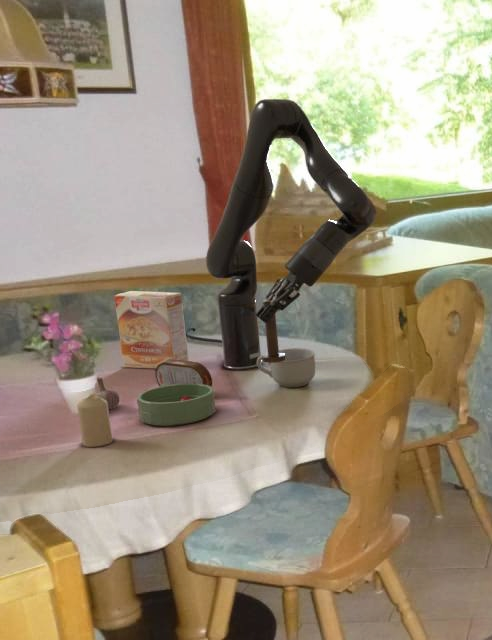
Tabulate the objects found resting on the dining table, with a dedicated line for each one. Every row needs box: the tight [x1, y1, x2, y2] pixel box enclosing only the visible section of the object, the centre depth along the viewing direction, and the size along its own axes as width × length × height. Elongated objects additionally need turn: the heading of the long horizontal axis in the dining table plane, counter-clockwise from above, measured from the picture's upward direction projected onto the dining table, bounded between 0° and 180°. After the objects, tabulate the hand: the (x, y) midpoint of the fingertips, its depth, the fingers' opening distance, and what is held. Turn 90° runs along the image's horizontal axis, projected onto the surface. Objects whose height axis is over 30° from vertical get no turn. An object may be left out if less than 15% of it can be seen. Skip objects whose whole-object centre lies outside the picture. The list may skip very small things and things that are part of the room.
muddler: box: [261, 299, 285, 364], centre depth 233 cm, size 5×5×14 cm
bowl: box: [136, 383, 217, 427], centre depth 228 cm, size 16×16×6 cm
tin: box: [154, 359, 213, 387], centre depth 244 cm, size 15×3×8 cm, turn 71°
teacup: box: [257, 347, 316, 388], centre depth 254 cm, size 14×11×8 cm
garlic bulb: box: [89, 376, 120, 411], centre depth 233 cm, size 8×7×8 cm
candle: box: [76, 394, 113, 448], centre depth 211 cm, size 6×6×10 cm
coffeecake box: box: [114, 290, 190, 370], centre depth 269 cm, size 15×7×20 cm, turn 81°
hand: (260, 319), depth 231 cm, fingers closed on muddler, 2 cm apart
